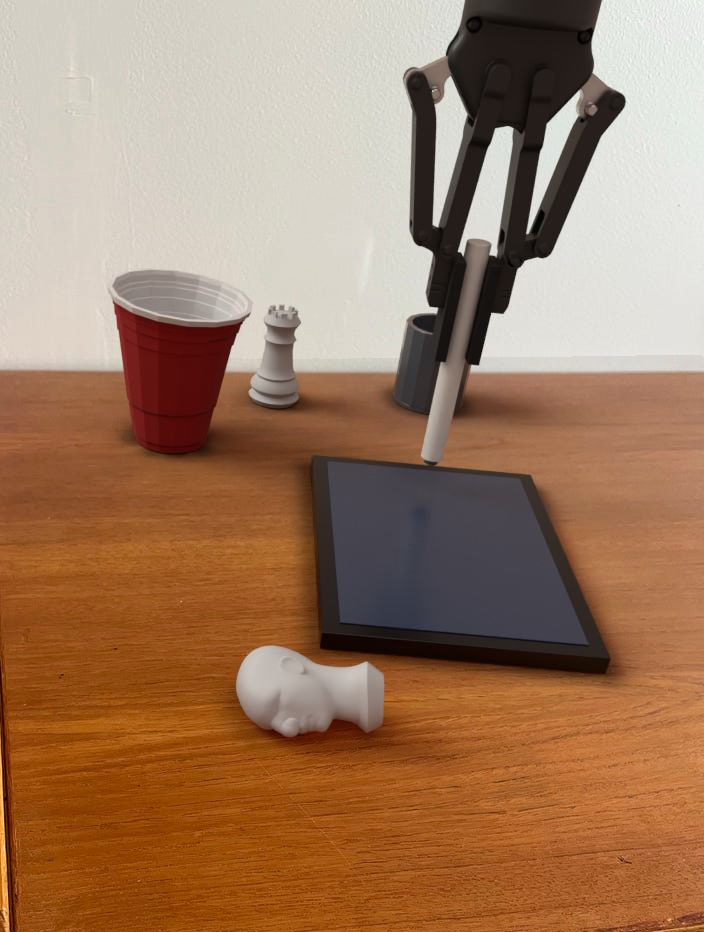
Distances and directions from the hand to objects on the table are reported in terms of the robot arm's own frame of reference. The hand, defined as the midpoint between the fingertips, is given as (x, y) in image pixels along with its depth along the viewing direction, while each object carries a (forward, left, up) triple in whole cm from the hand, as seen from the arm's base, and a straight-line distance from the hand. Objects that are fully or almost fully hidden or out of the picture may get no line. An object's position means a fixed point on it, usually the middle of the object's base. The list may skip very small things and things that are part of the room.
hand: (454, 355), depth 71 cm
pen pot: (-3, -20, -11) cm, 23 cm away
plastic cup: (+19, -7, -11) cm, 24 cm away
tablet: (0, +8, -11) cm, 14 cm away
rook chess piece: (+11, -17, -11) cm, 23 cm away
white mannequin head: (+9, +27, -11) cm, 31 cm away
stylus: (0, 0, -8) cm, 8 cm away
